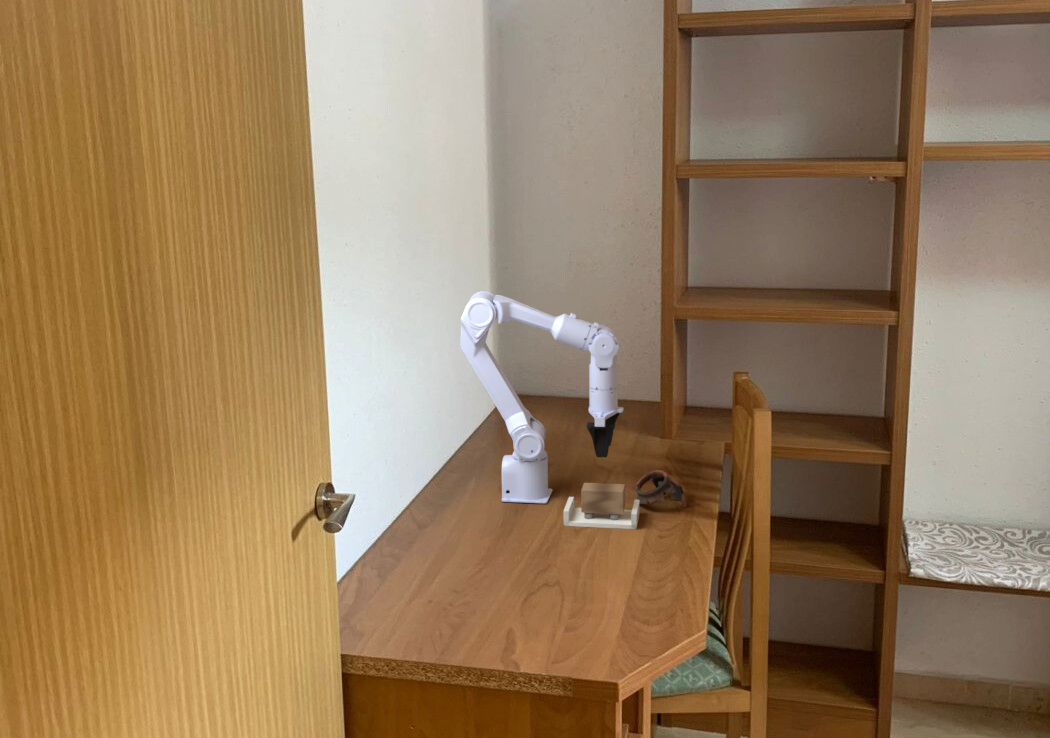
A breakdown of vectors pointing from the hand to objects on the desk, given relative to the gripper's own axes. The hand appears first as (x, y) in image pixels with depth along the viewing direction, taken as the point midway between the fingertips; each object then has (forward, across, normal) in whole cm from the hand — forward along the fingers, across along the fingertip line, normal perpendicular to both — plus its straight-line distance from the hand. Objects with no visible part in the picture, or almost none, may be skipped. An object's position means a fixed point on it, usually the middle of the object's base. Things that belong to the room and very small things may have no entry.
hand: (603, 451), depth 212 cm
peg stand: (+10, -13, -1) cm, 16 cm away
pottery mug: (+10, -3, -12) cm, 16 cm away
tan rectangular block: (+8, -13, -1) cm, 15 cm away
